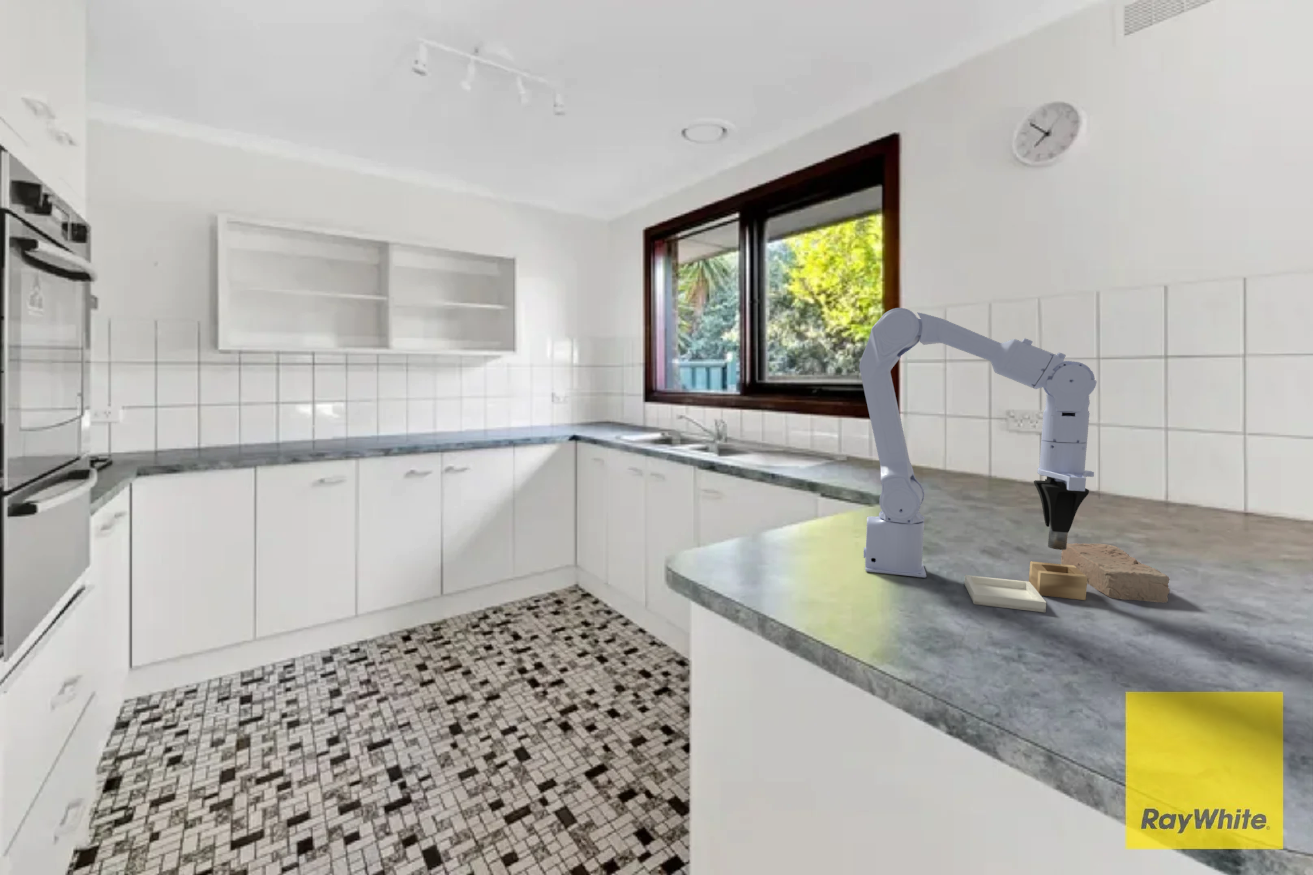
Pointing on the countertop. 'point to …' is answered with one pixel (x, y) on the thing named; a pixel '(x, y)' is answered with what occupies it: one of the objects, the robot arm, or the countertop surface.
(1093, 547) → the brick
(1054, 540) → the cylinder
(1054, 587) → the wooden square frame
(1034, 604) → the tray
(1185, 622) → the countertop surface
